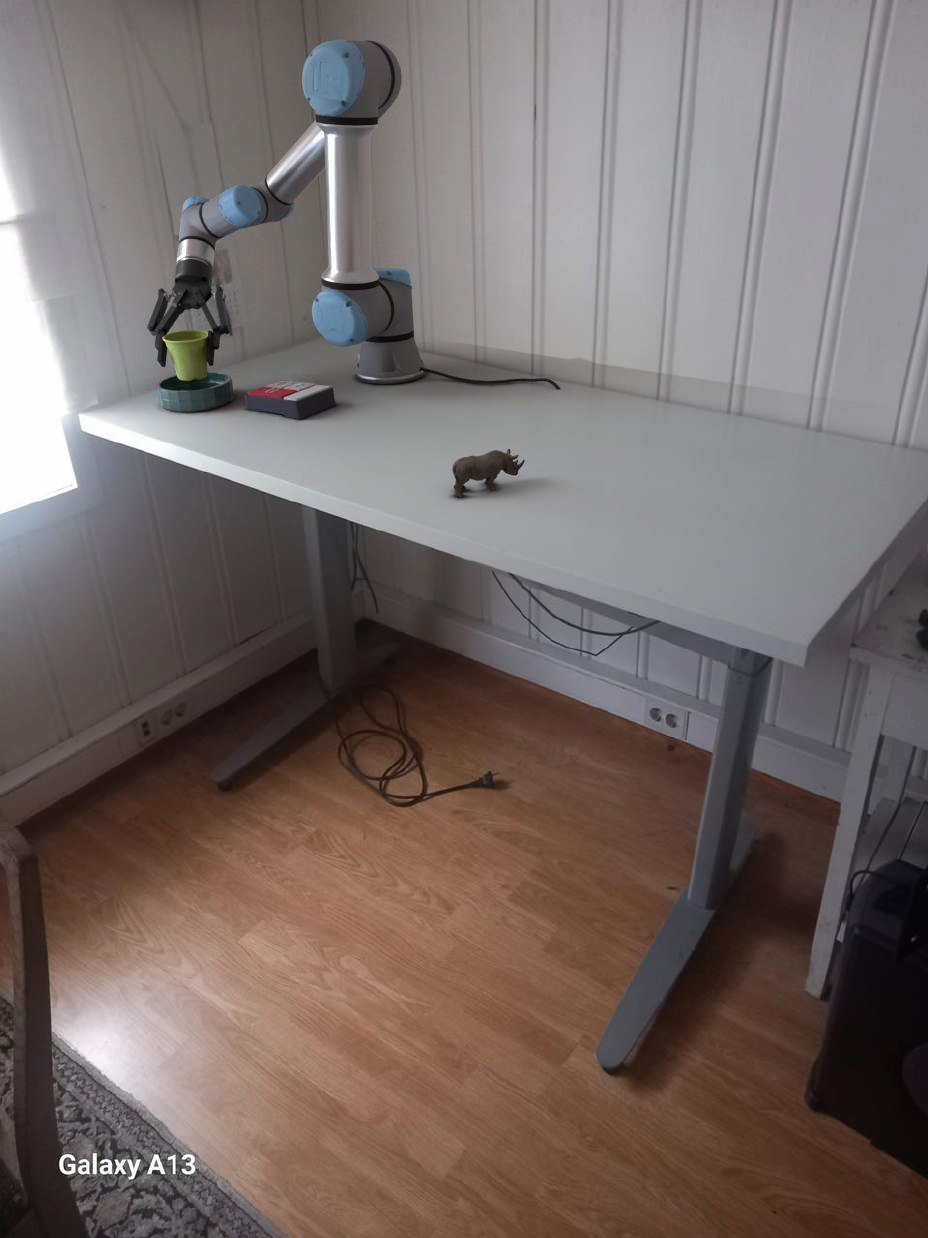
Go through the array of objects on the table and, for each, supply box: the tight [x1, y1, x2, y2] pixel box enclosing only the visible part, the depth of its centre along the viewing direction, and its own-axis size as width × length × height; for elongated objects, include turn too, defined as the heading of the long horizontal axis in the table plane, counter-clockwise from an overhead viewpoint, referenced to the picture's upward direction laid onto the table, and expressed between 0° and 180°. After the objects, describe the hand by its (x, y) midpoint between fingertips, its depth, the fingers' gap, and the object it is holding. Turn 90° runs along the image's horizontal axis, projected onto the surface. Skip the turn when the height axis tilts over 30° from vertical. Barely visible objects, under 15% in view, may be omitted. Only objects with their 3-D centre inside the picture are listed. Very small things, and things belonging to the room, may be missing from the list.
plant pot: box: [163, 329, 208, 381], centre depth 200 cm, size 9×9×9 cm
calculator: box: [244, 380, 336, 420], centre depth 198 cm, size 11×4×15 cm
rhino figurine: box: [452, 448, 526, 498], centre depth 155 cm, size 4×14×6 cm, turn 119°
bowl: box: [155, 370, 235, 413], centre depth 204 cm, size 15×15×4 cm
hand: (185, 362), depth 198 cm, fingers closed on plant pot, 9 cm apart
